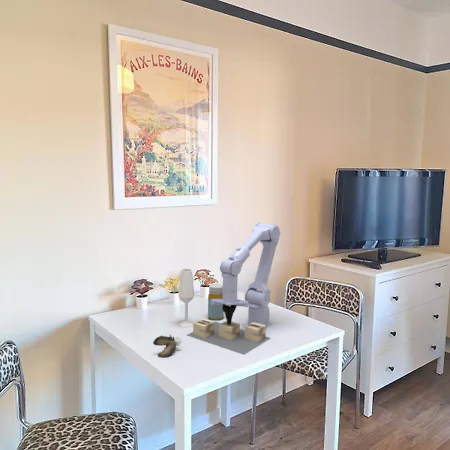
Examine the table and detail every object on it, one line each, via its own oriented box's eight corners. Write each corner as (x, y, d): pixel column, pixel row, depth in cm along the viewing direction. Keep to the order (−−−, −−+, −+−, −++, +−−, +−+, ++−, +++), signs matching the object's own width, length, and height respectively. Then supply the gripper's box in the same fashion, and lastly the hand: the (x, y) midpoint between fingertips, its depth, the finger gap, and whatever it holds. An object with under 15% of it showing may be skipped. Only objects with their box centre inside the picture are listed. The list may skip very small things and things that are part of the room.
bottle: (225, 320, 185) (226, 287, 183) (211, 322, 183) (211, 288, 181) (220, 315, 192) (220, 283, 190) (205, 316, 189) (206, 284, 187)
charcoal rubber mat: (215, 322, 182) (215, 321, 182) (271, 339, 166) (271, 338, 166) (186, 336, 167) (186, 335, 167) (244, 355, 151) (244, 354, 151)
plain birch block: (227, 332, 171) (227, 320, 170) (239, 335, 167) (239, 323, 167) (218, 336, 166) (218, 324, 166) (230, 340, 163) (231, 328, 162)
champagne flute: (175, 325, 178) (175, 270, 174) (184, 320, 184) (184, 267, 180) (188, 328, 175) (188, 272, 171) (197, 323, 181) (197, 269, 177)
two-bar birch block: (202, 330, 172) (202, 318, 172) (214, 334, 169) (214, 321, 168) (193, 334, 168) (193, 322, 167) (204, 338, 164) (204, 326, 163)
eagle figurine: (164, 342, 159) (148, 346, 151) (174, 328, 157) (158, 331, 149) (176, 357, 155) (160, 362, 147) (186, 343, 153) (171, 347, 146)
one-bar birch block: (252, 333, 170) (253, 321, 169) (265, 337, 166) (265, 325, 165) (244, 338, 165) (244, 326, 164) (257, 342, 161) (257, 329, 161)
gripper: (209, 291, 161) (209, 325, 163) (247, 293, 159) (246, 328, 161) (213, 286, 168) (212, 319, 170) (249, 288, 166) (248, 321, 168)
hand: (229, 323), depth 166 cm, fingers closed
